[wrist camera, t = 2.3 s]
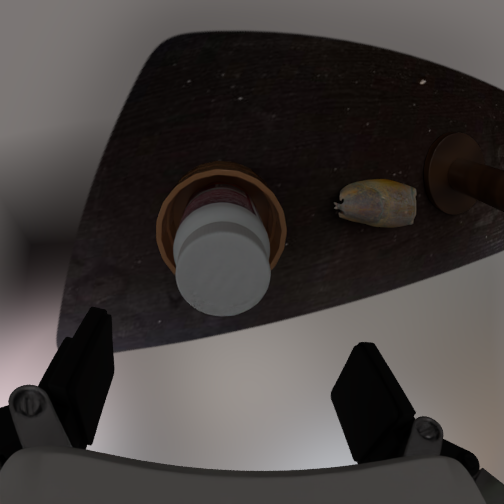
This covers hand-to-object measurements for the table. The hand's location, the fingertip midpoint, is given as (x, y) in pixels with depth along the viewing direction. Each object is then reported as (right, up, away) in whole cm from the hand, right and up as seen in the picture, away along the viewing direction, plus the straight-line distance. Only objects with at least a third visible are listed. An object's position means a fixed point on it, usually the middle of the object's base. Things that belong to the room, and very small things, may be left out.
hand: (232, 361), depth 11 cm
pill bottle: (-2, +7, +16) cm, 18 cm away
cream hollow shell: (+11, +9, +17) cm, 23 cm away
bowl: (-2, +7, +16) cm, 18 cm away
